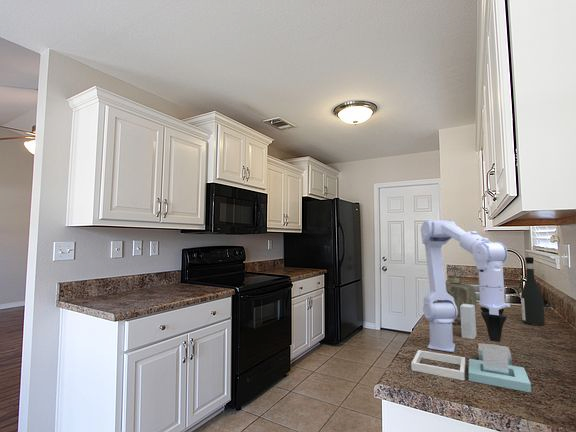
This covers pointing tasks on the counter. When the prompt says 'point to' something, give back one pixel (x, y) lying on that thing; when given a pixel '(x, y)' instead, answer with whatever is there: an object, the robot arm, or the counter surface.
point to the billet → (495, 359)
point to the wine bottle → (532, 298)
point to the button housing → (482, 354)
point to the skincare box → (468, 321)
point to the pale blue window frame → (500, 377)
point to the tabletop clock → (460, 292)
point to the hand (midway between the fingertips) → (494, 337)
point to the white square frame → (435, 369)
